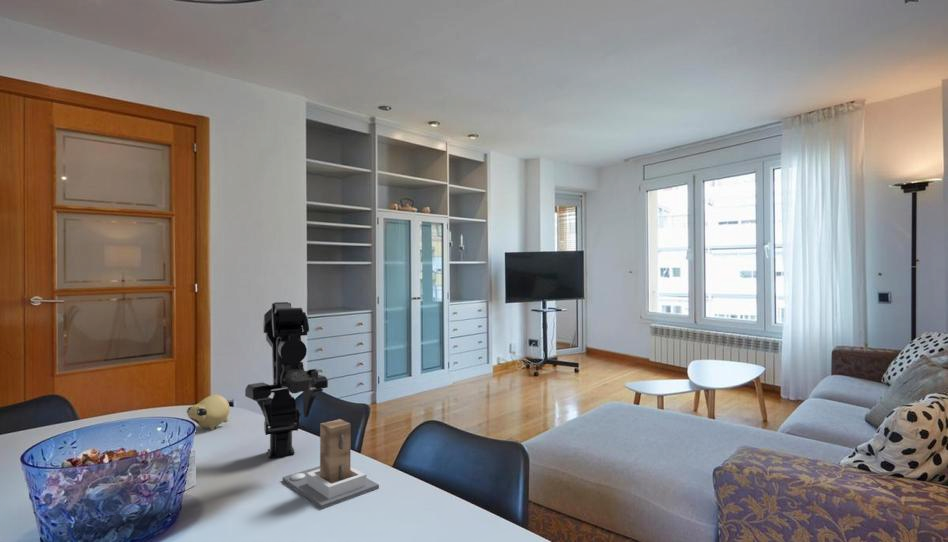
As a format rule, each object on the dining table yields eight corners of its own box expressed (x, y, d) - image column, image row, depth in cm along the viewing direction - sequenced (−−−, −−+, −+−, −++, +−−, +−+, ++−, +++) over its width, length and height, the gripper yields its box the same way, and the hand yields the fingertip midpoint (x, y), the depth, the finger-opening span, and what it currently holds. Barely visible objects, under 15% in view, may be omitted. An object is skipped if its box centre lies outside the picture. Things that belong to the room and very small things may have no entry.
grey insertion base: (282, 480, 111) (282, 466, 111) (336, 464, 121) (336, 451, 121) (321, 509, 97) (322, 493, 97) (378, 488, 107) (378, 473, 107)
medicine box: (196, 485, 109) (196, 448, 109) (179, 494, 104) (180, 455, 105) (170, 482, 111) (170, 445, 111) (152, 490, 106) (153, 452, 107)
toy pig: (181, 431, 149) (181, 398, 149) (217, 421, 159) (217, 390, 160) (200, 436, 144) (200, 401, 145) (235, 425, 155) (235, 393, 155)
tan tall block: (320, 484, 107) (320, 423, 108) (339, 478, 111) (340, 419, 111) (331, 492, 103) (332, 429, 103) (352, 485, 106) (352, 424, 107)
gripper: (262, 366, 104) (261, 437, 103) (338, 357, 117) (338, 419, 116) (244, 361, 112) (244, 426, 111) (318, 352, 125) (317, 411, 124)
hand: (288, 421), depth 116 cm, fingers open, 9 cm apart
